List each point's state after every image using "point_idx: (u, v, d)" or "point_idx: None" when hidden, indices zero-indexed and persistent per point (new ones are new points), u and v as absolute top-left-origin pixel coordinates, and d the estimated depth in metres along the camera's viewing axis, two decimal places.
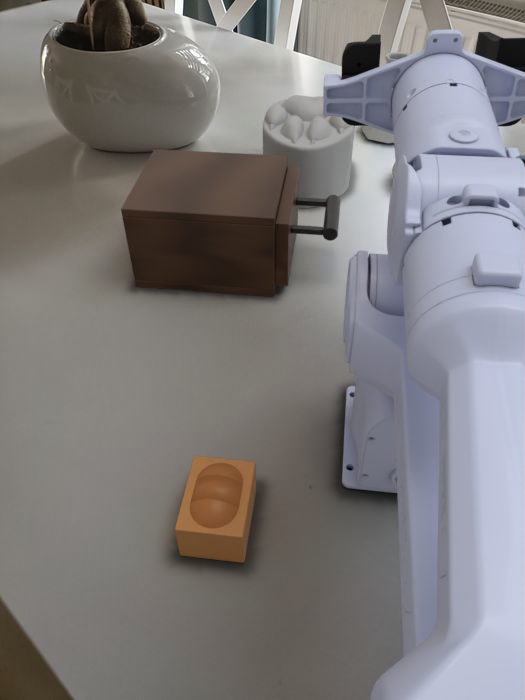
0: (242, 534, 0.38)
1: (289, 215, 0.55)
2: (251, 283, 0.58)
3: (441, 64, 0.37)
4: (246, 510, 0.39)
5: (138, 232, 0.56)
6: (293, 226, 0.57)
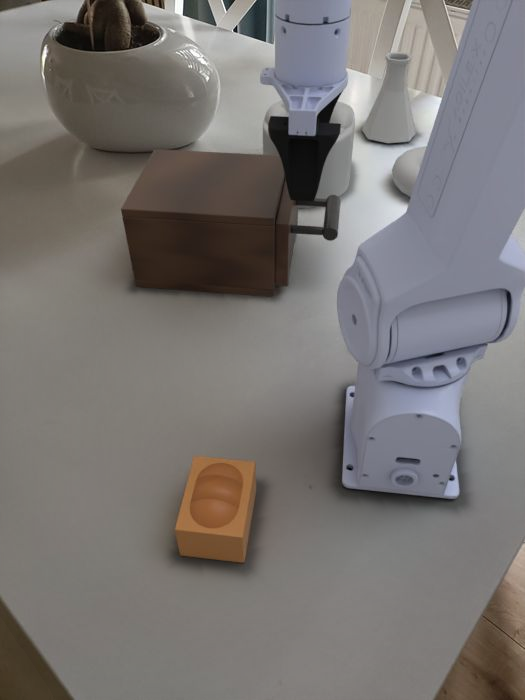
0: (242, 534, 0.38)
1: (289, 215, 0.55)
2: (251, 283, 0.58)
3: (275, 51, 0.49)
4: (246, 510, 0.39)
5: (138, 232, 0.56)
6: (293, 226, 0.57)
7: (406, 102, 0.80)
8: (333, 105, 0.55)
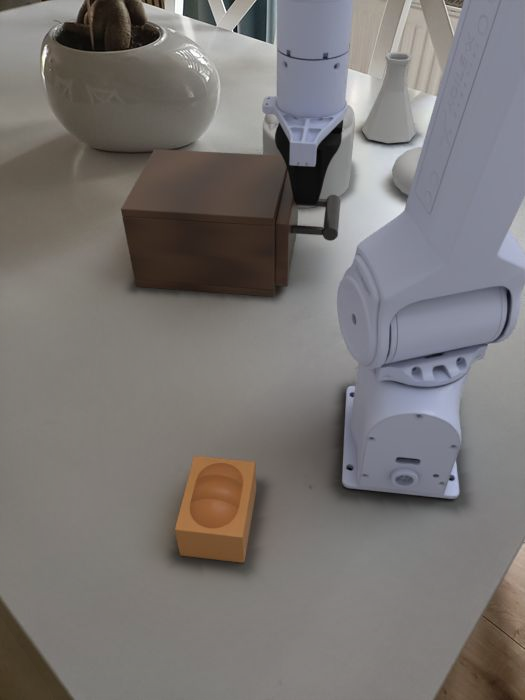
0: (242, 534, 0.38)
1: (289, 215, 0.55)
2: (251, 283, 0.58)
3: None
4: (246, 510, 0.39)
5: (138, 232, 0.56)
6: (293, 226, 0.57)
7: (406, 102, 0.80)
8: None
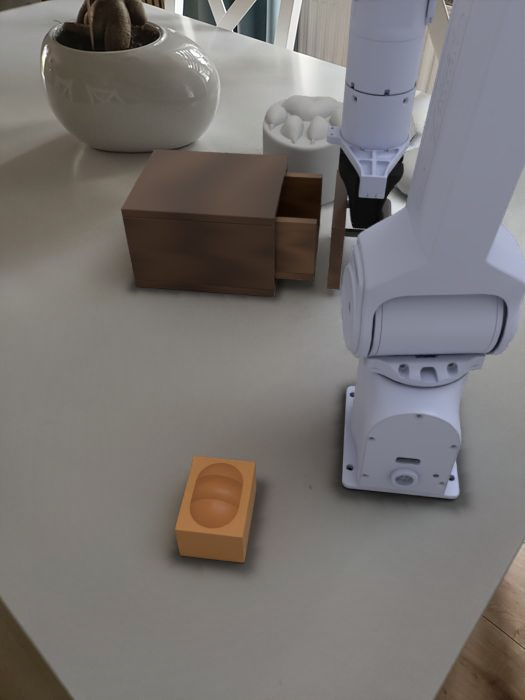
0: (242, 534, 0.38)
1: (344, 218, 0.55)
2: (251, 283, 0.58)
3: (342, 113, 0.52)
4: (246, 510, 0.39)
5: (138, 232, 0.56)
6: (346, 229, 0.57)
7: None
8: None
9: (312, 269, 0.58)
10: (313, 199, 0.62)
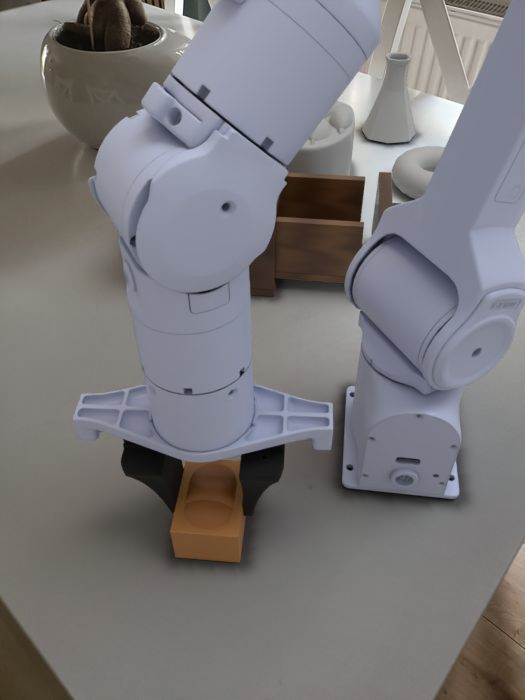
0: (238, 534, 0.38)
1: None
2: (251, 283, 0.58)
3: None
4: (241, 510, 0.39)
5: None
6: None
7: (406, 102, 0.80)
8: None
9: None
10: (354, 201, 0.62)
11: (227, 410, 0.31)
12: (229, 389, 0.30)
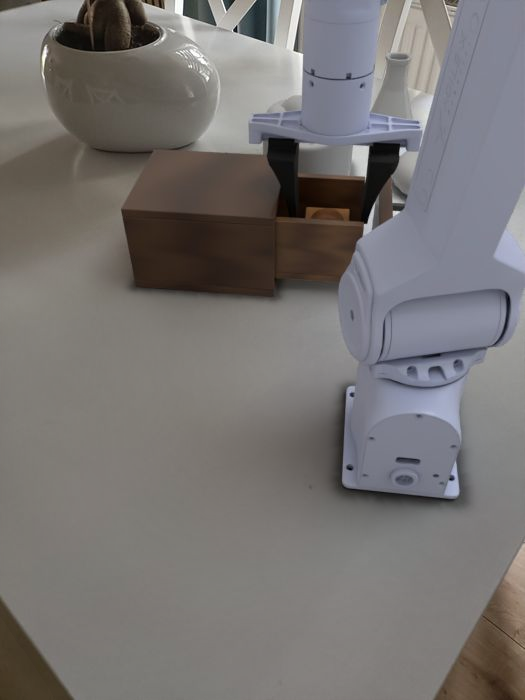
0: None
1: None
2: (251, 283, 0.58)
3: None
4: None
5: (138, 232, 0.56)
6: None
7: (406, 102, 0.80)
8: (367, 177, 0.53)
9: None
10: (354, 201, 0.62)
11: (357, 99, 0.49)
12: (361, 81, 0.48)
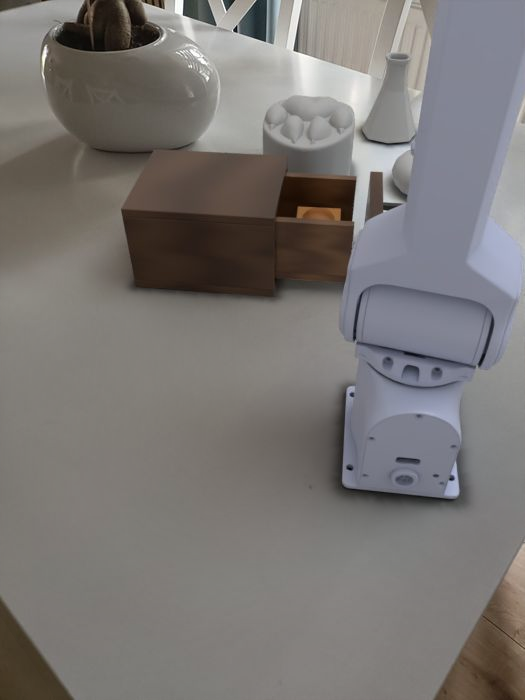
0: None
1: None
2: (251, 283, 0.58)
3: None
4: None
5: (138, 232, 0.56)
6: None
7: (406, 102, 0.80)
8: None
9: None
10: (346, 201, 0.62)
11: None
12: None
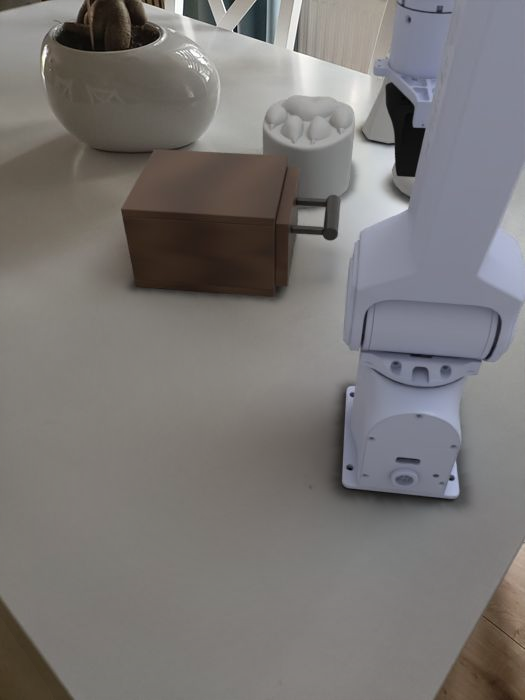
0: None
1: (289, 215, 0.55)
2: (251, 283, 0.58)
3: (392, 41, 0.47)
4: None
5: (138, 232, 0.56)
6: (293, 226, 0.57)
7: None
8: None
9: None
10: None
11: None
12: None
